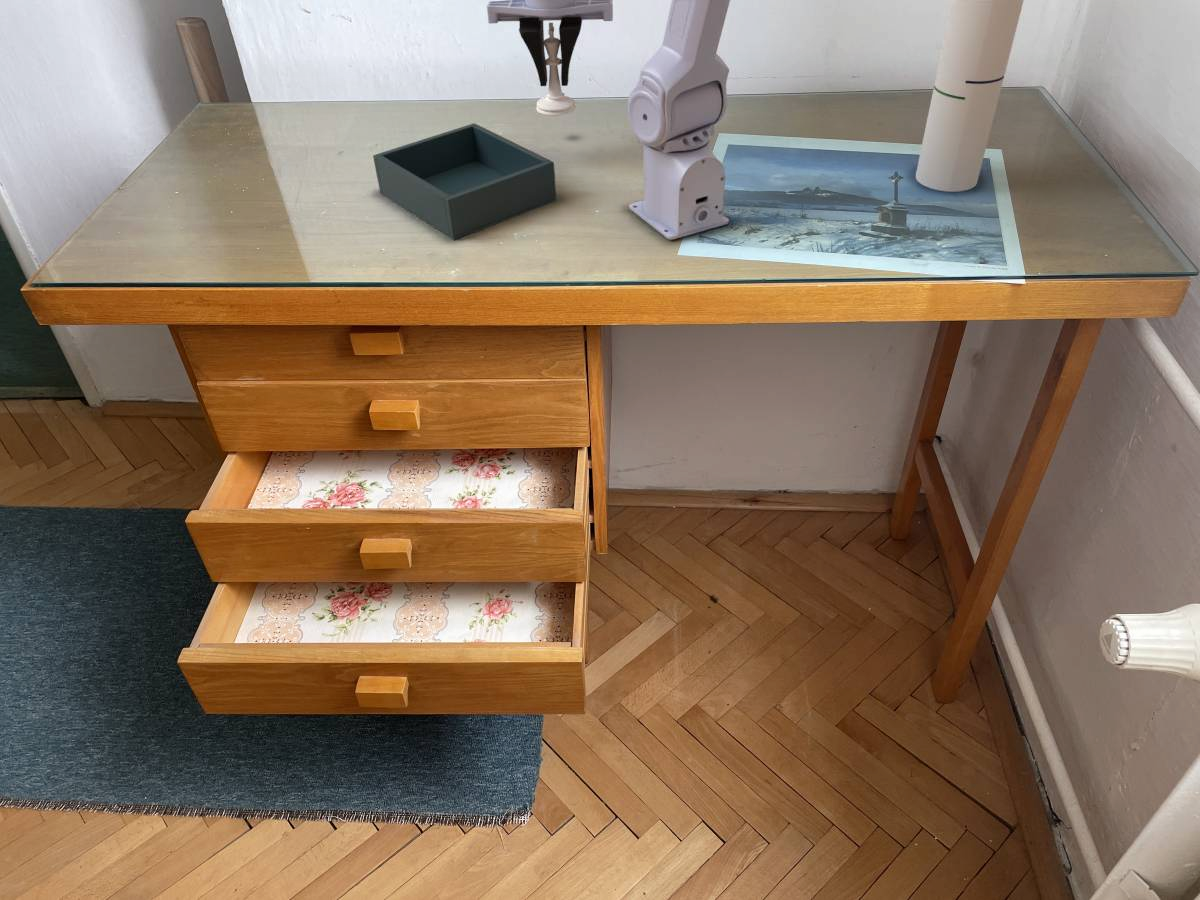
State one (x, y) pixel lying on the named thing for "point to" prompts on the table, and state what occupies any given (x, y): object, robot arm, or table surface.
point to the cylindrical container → (966, 92)
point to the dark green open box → (465, 179)
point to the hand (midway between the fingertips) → (554, 83)
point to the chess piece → (554, 82)
